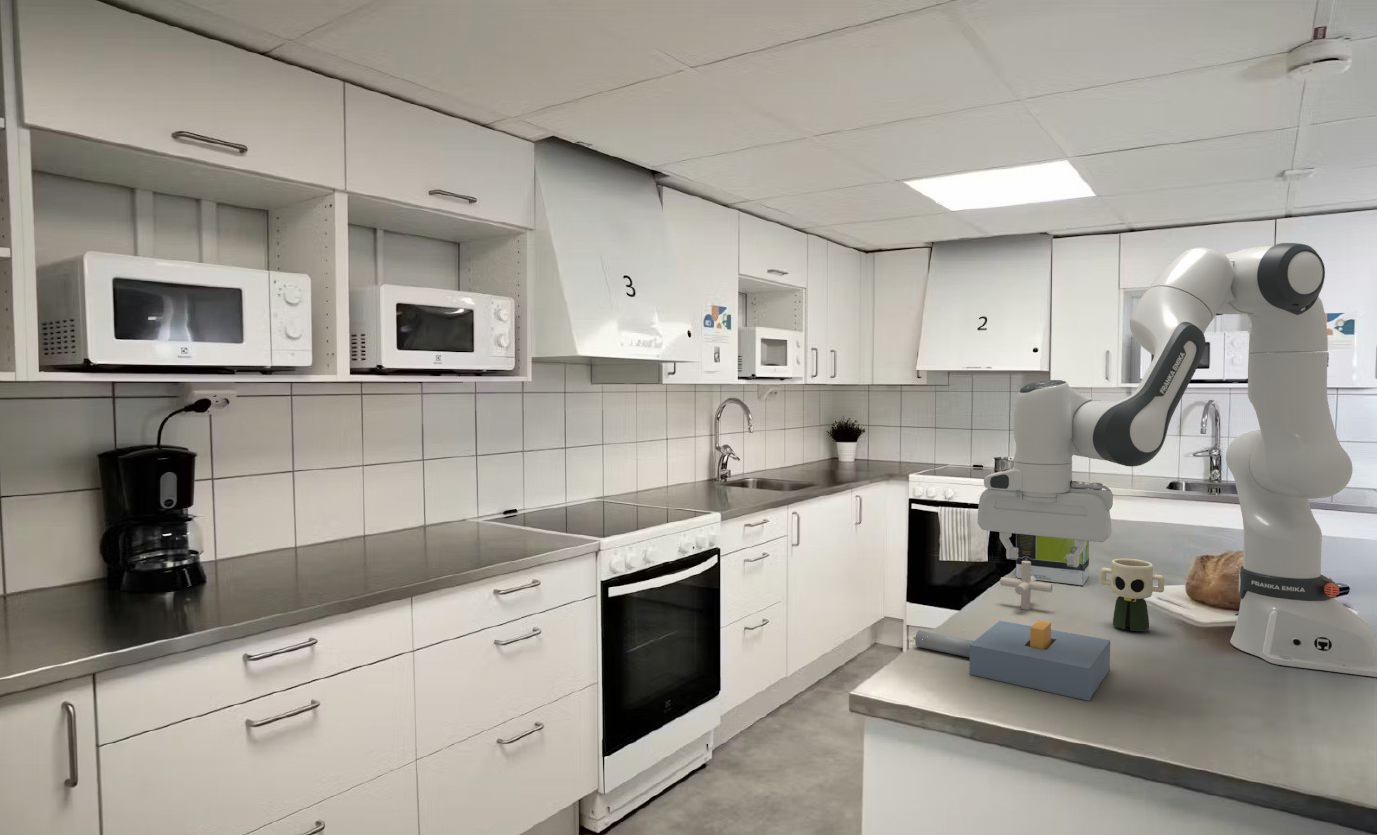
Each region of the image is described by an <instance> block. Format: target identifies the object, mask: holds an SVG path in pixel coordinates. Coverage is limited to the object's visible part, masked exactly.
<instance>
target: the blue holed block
mask: <svg viewBox="0 0 1377 835" xmlns="http://www.w3.org/2000/svg"><path fill="white" fill-rule="evenodd" d="M1032 626H1033V625H1027V624H1020V623H1017V622H1015V623H1014V622H1010V621H1003V620H998V621H997V622H996V623H994V624H993V625H992V626H991V627H990V628H988V629H987V630H986V631H985V632H984V633H982V634H980V636H979V637H978V638H976V639H975V640H973V639H967V638H961V637H956V636H951V635H946V634H940V633H935V632H931V631H926V630H921V629H919V630H917V632H916V635H915V639H914V640H915V642H914V643H915V646H916V647H917V648H922V649H927V650H932V651H936V652H941V653H946V654H950V655H955V656H960V657H965V658H969V675H970V676H971V675H972V676H976V677H980V678H984V679H989V680H992V681H993V680H994V681H999V682H1001V683H1008V684H1012V685H1016V686H1020V687H1025V688H1030V689H1033V690H1038V691H1043V692H1048V693H1052V694H1057V695H1060V696H1061V695H1062V696H1065V697H1070V698H1074V699H1080V700H1083V701H1090V700H1091V698H1092V697H1093V695H1094V693H1095V692H1097V689H1098V688H1099V686H1100V685H1101V683H1103V680H1104V679H1105V677H1106V676H1107V674H1109V671H1110V670H1111V662H1110V661H1111V639H1106V638H1101V637H1100V638H1099V637H1094V636H1088V635H1082V634H1078V633H1071V632H1066V631H1061V630H1055V629H1051V646H1050V647H1049V648H1048V649H1047V650H1044V649H1039V648H1033V647H1030V628H1031V627H1032ZM927 636H928V637H927ZM922 639H923V640H922Z"/></svg>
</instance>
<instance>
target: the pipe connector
mask: <svg viewBox="0 0 1377 835" xmlns="http://www.w3.org/2000/svg"><path fill="white" fill-rule="evenodd" d="M999 580H1000V582H999V583H1000V586H1002V587H1004V586H1005V587H1010V588H1015V589H1014V592H1015V593H1016V594H1017V595H1019V596H1020V609H1022V610H1025V611H1026V610H1027V611H1029V610H1031V599H1032V598H1031V591H1038V592H1044V593H1052V591H1053V584H1052V583H1046V582H1039V581H1037V580H1036V578H1035V577H1033V576H1031V562H1030V561H1022V568H1021V578H1010V577H1000V579H999Z"/></svg>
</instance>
